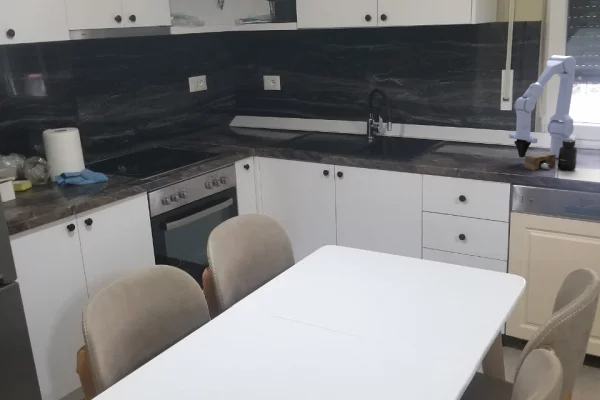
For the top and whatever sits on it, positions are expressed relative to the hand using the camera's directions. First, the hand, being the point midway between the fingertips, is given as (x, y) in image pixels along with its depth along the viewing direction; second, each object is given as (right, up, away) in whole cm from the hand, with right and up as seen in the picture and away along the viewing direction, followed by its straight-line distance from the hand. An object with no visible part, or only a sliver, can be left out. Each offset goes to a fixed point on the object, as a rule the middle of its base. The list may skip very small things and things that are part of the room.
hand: (522, 157), depth 269 cm
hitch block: (+4, -5, -8) cm, 10 cm away
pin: (+5, -5, -9) cm, 11 cm away
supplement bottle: (+14, -6, -13) cm, 20 cm away
